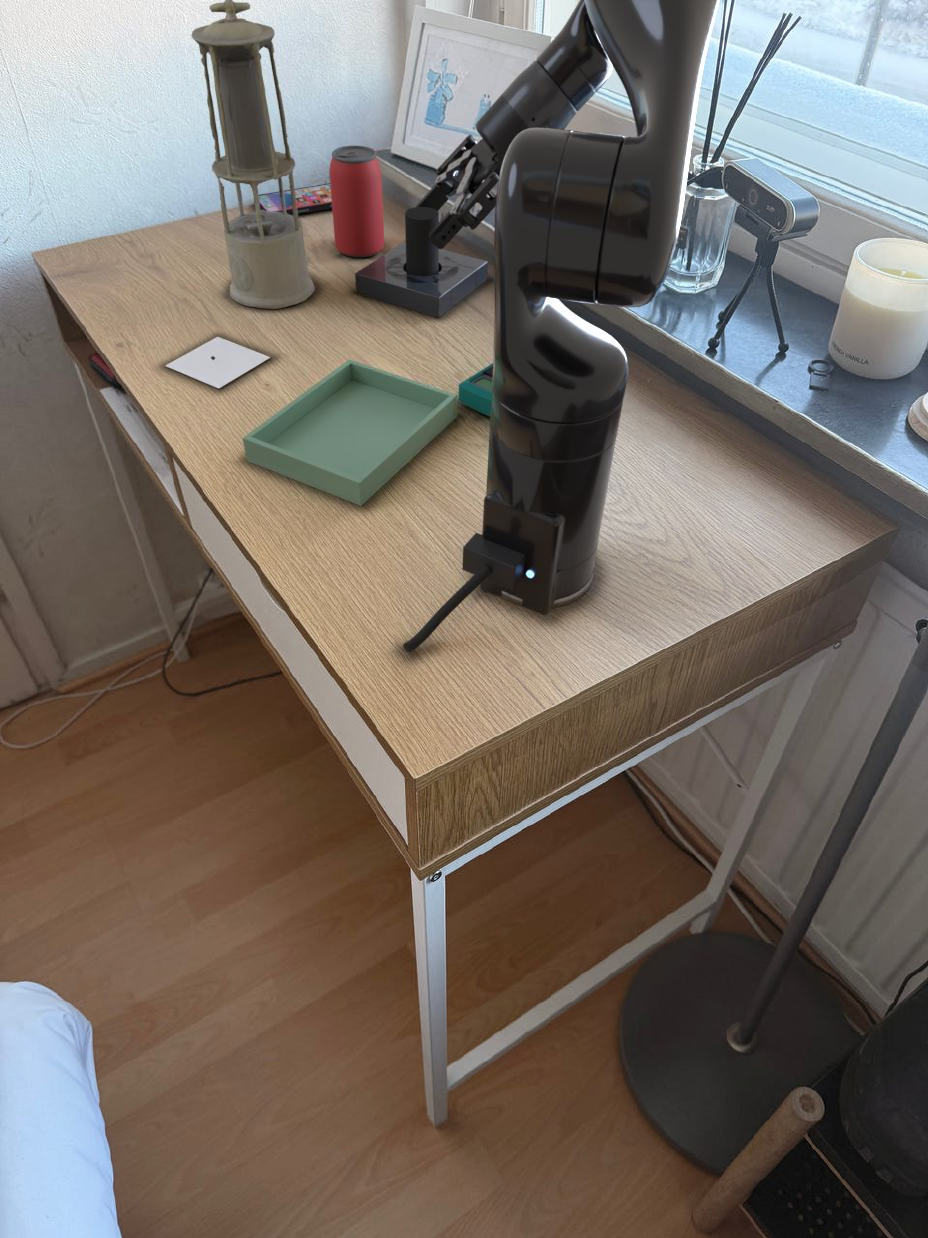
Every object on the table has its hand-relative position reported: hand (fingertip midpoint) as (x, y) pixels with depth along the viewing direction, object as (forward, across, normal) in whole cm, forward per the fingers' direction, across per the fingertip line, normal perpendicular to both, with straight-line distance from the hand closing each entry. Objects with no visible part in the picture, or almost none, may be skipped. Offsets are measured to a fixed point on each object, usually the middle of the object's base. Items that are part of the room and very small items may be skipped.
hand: (427, 228), depth 104 cm
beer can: (+10, -12, 0) cm, 16 cm away
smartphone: (+14, -29, -4) cm, 33 cm away
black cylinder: (+6, 0, +5) cm, 7 cm away
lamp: (+19, -3, -8) cm, 21 cm away
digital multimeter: (+1, +26, +9) cm, 28 cm away
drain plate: (+6, 0, +5) cm, 7 cm away
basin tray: (+14, +32, -4) cm, 35 cm away
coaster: (+24, +15, -13) cm, 31 cm away
